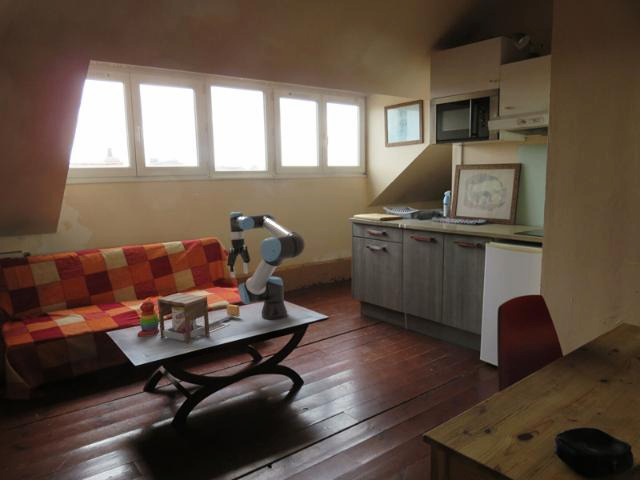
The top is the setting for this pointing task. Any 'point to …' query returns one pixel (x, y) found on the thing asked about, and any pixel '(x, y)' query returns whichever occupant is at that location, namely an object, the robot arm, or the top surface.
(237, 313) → the sled
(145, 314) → the stacking bear
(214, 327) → the pit mat
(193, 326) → the candy bar box
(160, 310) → the small wooden table
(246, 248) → the robot arm
